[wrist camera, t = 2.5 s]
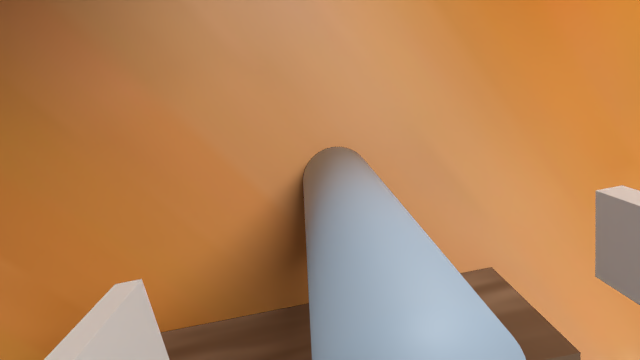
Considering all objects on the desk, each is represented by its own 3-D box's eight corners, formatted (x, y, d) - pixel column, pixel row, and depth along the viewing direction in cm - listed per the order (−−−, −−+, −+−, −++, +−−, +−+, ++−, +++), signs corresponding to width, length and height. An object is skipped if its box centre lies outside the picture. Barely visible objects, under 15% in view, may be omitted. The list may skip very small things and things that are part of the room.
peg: (296, 154, 19) (294, 329, 6) (364, 140, 19) (526, 284, 6) (310, 217, 20) (335, 500, 7) (374, 205, 20) (532, 459, 7)
